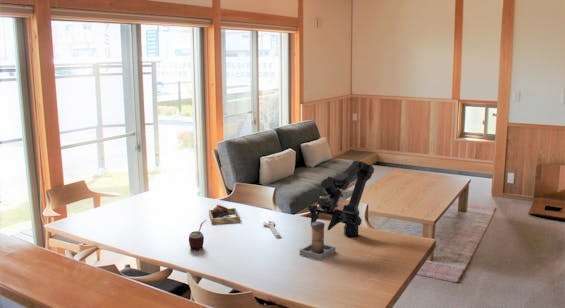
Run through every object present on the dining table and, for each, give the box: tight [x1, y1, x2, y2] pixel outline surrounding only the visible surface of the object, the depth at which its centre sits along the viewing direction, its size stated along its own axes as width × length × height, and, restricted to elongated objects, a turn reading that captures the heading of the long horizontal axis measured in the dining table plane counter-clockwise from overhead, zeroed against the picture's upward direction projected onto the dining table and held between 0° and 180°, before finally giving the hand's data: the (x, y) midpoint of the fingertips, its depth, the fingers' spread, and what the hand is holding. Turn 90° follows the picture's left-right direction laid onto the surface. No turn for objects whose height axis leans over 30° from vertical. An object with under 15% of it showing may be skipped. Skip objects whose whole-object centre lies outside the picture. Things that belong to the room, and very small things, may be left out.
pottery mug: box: [212, 204, 230, 218], centre depth 302 cm, size 12×10×8 cm
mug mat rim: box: [208, 207, 241, 225], centre depth 301 cm, size 16×18×3 cm
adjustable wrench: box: [263, 220, 282, 239], centre depth 279 cm, size 25×6×2 cm, turn 10°
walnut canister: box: [310, 221, 325, 254], centre depth 246 cm, size 6×6×14 cm
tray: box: [299, 243, 336, 261], centre depth 247 cm, size 13×12×2 cm
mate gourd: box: [188, 219, 207, 252], centre depth 253 cm, size 8×8×15 cm
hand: (319, 228), depth 246 cm, fingers open, 9 cm apart
